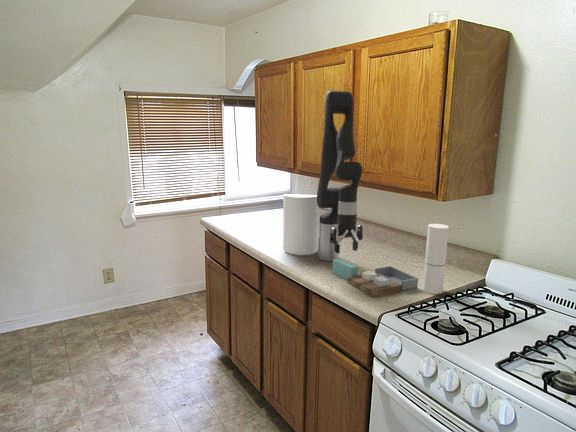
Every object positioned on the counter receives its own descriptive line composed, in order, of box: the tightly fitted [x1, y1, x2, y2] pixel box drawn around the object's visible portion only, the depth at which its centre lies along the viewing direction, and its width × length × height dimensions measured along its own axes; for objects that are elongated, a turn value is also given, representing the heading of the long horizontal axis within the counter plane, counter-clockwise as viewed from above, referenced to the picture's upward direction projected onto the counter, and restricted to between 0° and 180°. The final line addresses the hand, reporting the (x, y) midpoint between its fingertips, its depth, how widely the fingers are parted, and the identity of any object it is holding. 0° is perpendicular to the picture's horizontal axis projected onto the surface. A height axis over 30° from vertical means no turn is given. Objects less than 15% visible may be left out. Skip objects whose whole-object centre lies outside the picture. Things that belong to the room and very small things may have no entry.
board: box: [347, 271, 402, 299], centre depth 159 cm, size 16×13×2 cm
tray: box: [374, 265, 419, 292], centre depth 163 cm, size 16×8×4 cm, turn 27°
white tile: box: [361, 270, 377, 280], centre depth 162 cm, size 4×4×2 cm
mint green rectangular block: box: [332, 257, 359, 282], centre depth 170 cm, size 12×4×6 cm, turn 30°
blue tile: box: [373, 276, 389, 286], centre depth 156 cm, size 4×4×2 cm
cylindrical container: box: [422, 223, 450, 295], centre depth 154 cm, size 7×7×25 cm
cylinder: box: [282, 193, 320, 256], centre depth 204 cm, size 17×17×28 cm
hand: (346, 251), depth 168 cm, fingers open, 8 cm apart
